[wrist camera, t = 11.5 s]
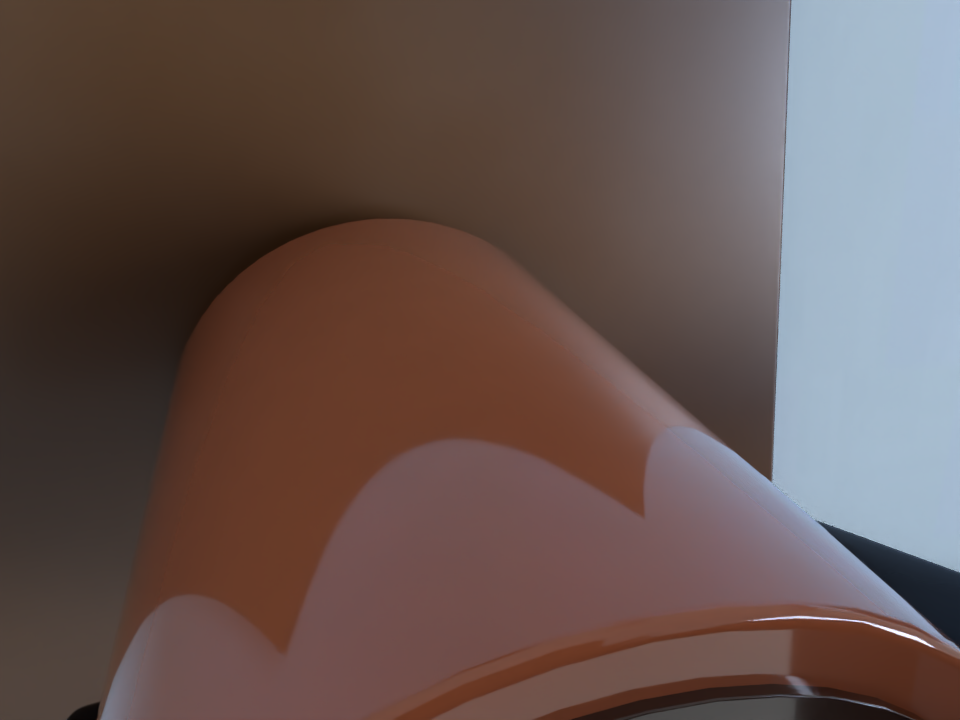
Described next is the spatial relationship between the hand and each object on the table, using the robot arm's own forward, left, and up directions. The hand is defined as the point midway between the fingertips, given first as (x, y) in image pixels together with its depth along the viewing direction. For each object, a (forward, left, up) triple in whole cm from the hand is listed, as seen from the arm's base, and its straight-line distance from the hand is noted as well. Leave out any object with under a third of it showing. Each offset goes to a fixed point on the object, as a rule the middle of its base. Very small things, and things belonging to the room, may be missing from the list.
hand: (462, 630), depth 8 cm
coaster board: (0, 0, -6) cm, 6 cm away
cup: (0, 0, -4) cm, 5 cm away
